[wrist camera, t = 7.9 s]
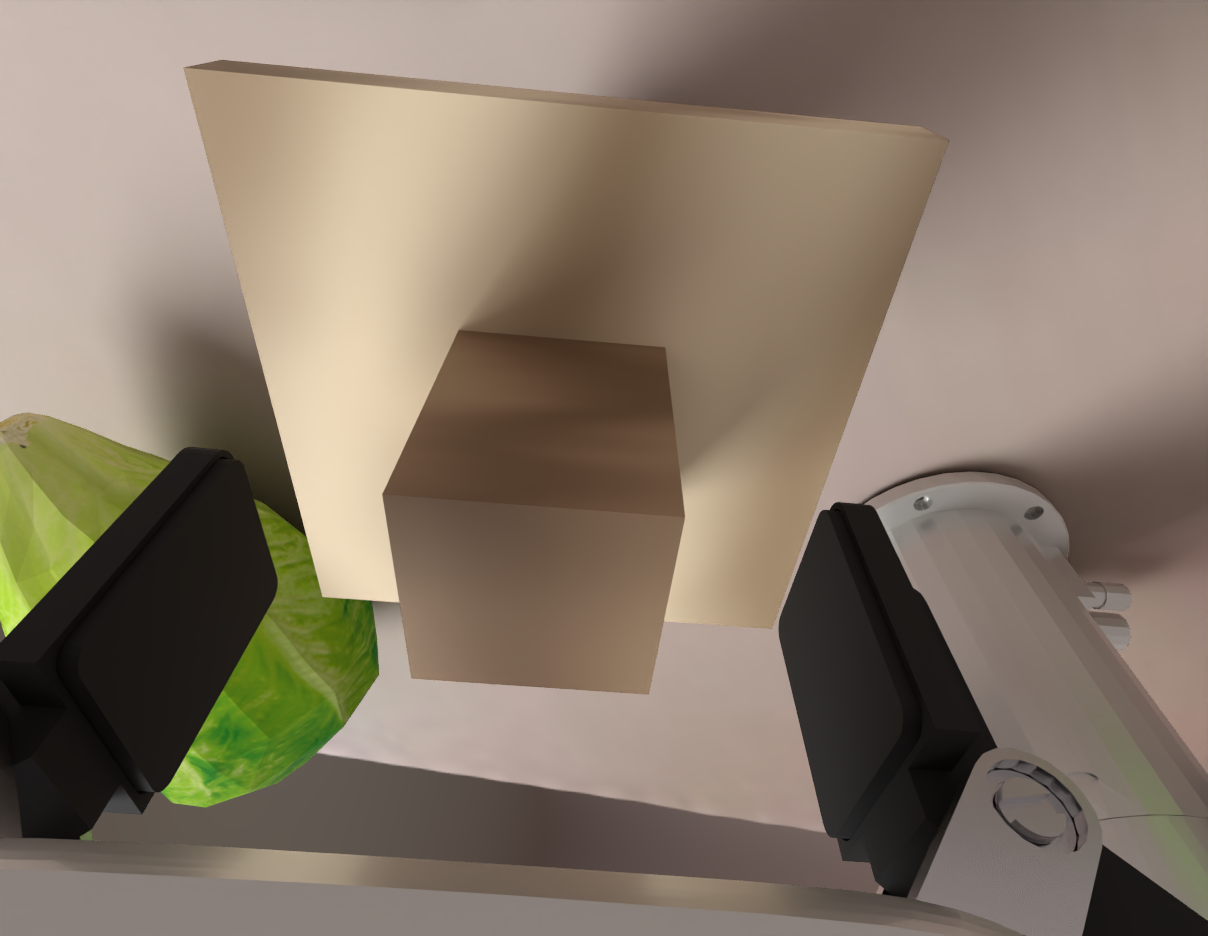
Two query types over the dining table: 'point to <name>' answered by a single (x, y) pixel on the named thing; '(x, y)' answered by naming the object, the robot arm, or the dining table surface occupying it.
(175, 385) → the dining table surface
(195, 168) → the dining table surface
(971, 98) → the dining table surface
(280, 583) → the lettuce
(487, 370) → the lid
